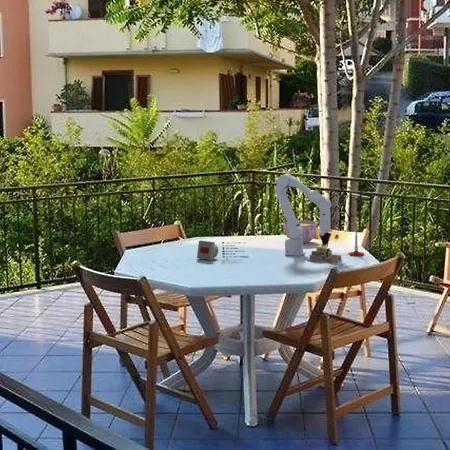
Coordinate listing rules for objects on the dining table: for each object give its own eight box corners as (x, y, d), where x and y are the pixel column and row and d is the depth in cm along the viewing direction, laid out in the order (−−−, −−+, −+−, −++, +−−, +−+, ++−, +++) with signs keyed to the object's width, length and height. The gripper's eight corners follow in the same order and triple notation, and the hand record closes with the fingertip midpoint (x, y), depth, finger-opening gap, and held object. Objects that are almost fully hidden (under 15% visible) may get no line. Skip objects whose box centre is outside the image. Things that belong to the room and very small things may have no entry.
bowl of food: (319, 245, 457) (319, 225, 456) (284, 246, 458) (284, 226, 456) (315, 239, 477) (315, 220, 476) (282, 240, 478) (282, 221, 476)
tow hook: (348, 253, 432) (348, 256, 423) (348, 230, 430) (348, 232, 421) (363, 253, 430) (364, 256, 421) (364, 230, 429) (364, 232, 420)
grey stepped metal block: (307, 261, 412) (306, 251, 411) (316, 255, 427) (316, 245, 427) (325, 262, 408) (325, 252, 407) (334, 256, 424) (334, 246, 423)
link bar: (316, 253, 416) (316, 246, 415) (321, 250, 424) (321, 243, 423) (322, 253, 414) (322, 246, 414) (327, 250, 423) (326, 244, 422)
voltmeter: (195, 261, 419) (195, 242, 418) (198, 257, 431) (197, 239, 429) (245, 261, 417) (245, 242, 415) (247, 257, 428) (246, 238, 427)
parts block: (326, 262, 407) (326, 258, 407) (331, 258, 417) (331, 254, 417) (335, 262, 405) (335, 259, 405) (341, 258, 415) (341, 255, 415)
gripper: (328, 223, 415) (329, 249, 417) (335, 220, 428) (336, 244, 430) (315, 223, 418) (316, 248, 420) (323, 219, 431) (323, 244, 433)
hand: (325, 246), depth 425 cm, fingers closed
